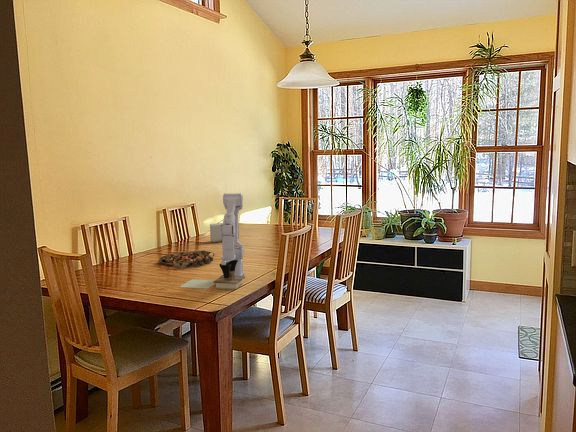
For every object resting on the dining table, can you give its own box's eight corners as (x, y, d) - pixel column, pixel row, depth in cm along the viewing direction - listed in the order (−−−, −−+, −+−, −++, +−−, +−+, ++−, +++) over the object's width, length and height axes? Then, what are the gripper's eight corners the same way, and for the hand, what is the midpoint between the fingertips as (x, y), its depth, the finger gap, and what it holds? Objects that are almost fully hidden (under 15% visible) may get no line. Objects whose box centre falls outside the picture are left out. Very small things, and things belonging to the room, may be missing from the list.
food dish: (203, 271, 274) (202, 258, 272) (149, 270, 280) (148, 257, 279) (223, 256, 308) (222, 244, 306) (174, 255, 314) (174, 244, 313)
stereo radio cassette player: (212, 243, 353) (211, 215, 350) (209, 241, 361) (208, 214, 358) (239, 240, 361) (239, 214, 358) (236, 238, 369) (235, 212, 366)
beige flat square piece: (191, 279, 251) (191, 279, 251) (218, 281, 248) (218, 280, 248) (179, 287, 238) (179, 286, 238) (207, 289, 234) (207, 288, 234)
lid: (222, 276, 246) (222, 268, 245) (244, 277, 243) (244, 269, 242) (213, 282, 234) (213, 274, 234) (236, 283, 231) (236, 275, 231)
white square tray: (223, 282, 245) (223, 277, 245) (242, 283, 243) (242, 277, 242) (216, 288, 235) (216, 282, 235) (235, 289, 233) (235, 283, 233)
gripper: (226, 245, 244) (226, 272, 246) (215, 251, 230) (216, 279, 232) (239, 246, 243) (240, 272, 245) (229, 252, 229) (229, 280, 231)
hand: (229, 276), depth 238 cm, fingers open, 7 cm apart
